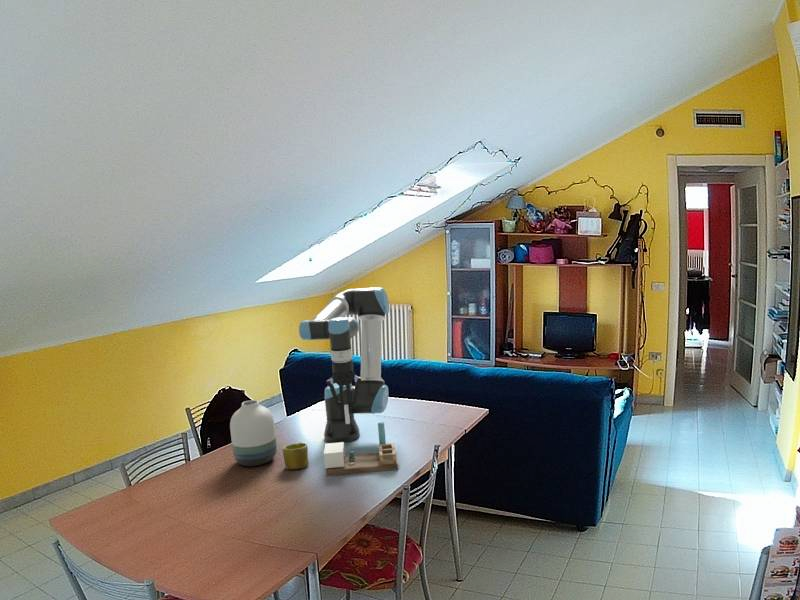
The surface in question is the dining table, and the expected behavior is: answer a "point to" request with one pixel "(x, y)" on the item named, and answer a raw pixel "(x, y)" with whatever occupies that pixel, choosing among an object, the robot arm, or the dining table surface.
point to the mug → (296, 456)
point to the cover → (334, 455)
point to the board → (368, 462)
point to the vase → (253, 434)
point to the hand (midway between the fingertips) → (347, 422)
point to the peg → (381, 433)
